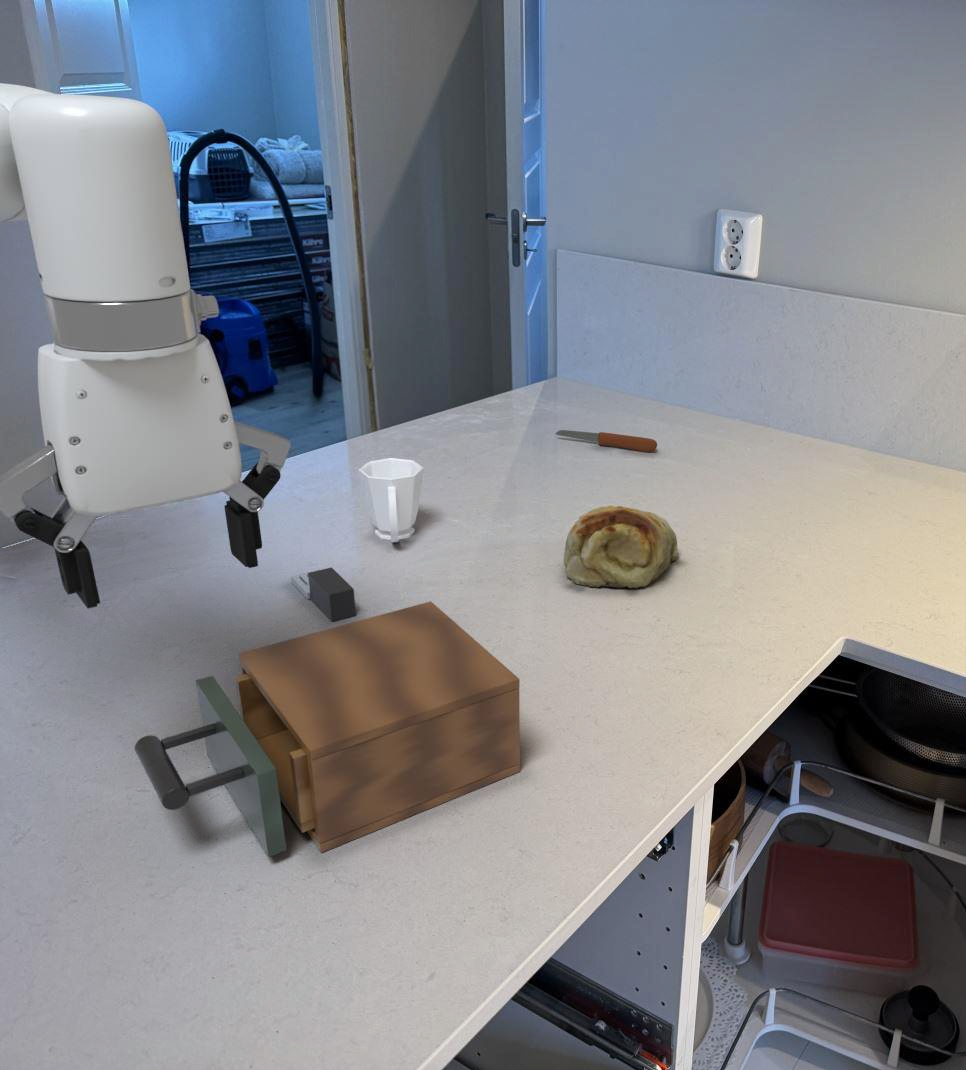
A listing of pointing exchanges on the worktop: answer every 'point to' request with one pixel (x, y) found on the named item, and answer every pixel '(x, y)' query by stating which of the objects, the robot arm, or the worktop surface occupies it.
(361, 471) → the cup
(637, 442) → the kitchen knife
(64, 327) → the robot arm
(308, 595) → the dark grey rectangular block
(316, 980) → the worktop surface
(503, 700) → the cabinet
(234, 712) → the drawer
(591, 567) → the pastry
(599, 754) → the worktop surface
